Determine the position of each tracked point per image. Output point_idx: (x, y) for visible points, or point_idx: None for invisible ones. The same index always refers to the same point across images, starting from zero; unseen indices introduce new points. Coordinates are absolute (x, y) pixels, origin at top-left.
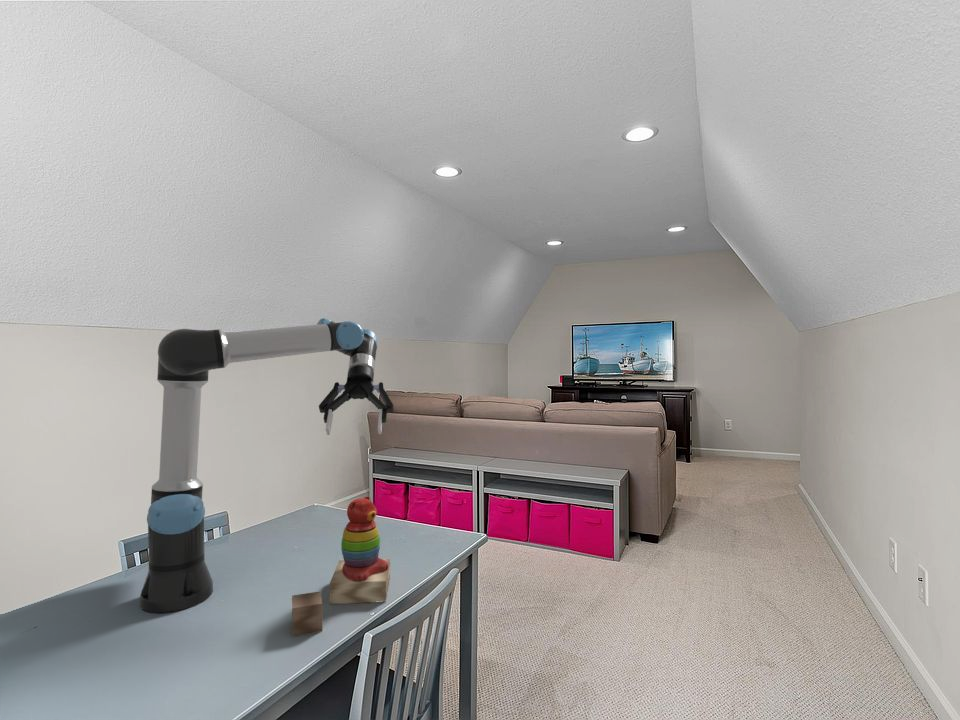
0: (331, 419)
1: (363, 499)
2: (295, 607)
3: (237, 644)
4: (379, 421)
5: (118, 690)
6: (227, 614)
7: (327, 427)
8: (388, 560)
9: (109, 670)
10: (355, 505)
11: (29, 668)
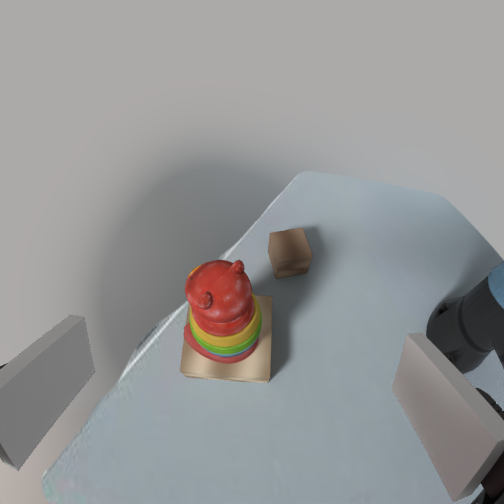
0: (441, 438)
1: (211, 278)
2: (299, 229)
3: (347, 240)
4: (49, 339)
5: (399, 200)
6: (386, 296)
7: (417, 337)
8: (183, 364)
9: (423, 221)
10: (230, 263)
11: (471, 233)
